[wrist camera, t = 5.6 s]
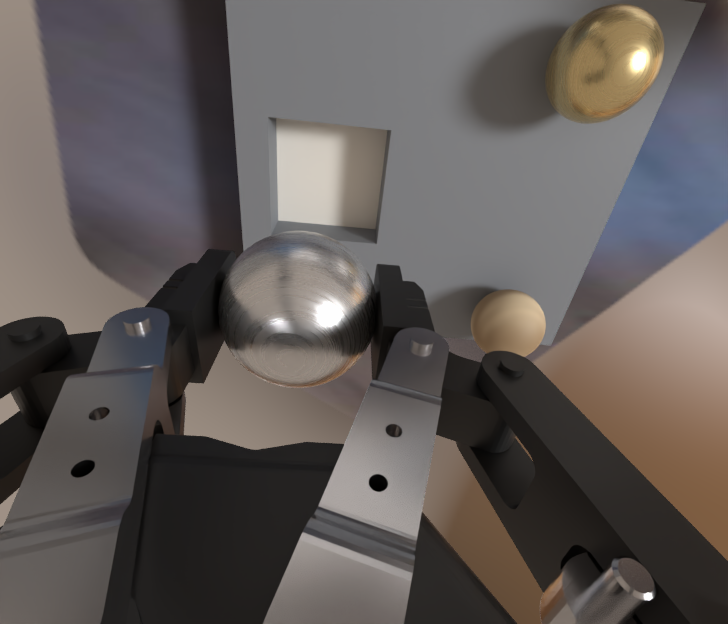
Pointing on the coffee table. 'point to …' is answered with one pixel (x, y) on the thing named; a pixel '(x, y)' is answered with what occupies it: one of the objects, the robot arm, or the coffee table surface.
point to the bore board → (433, 140)
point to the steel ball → (297, 309)
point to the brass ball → (604, 63)
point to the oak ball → (508, 322)
